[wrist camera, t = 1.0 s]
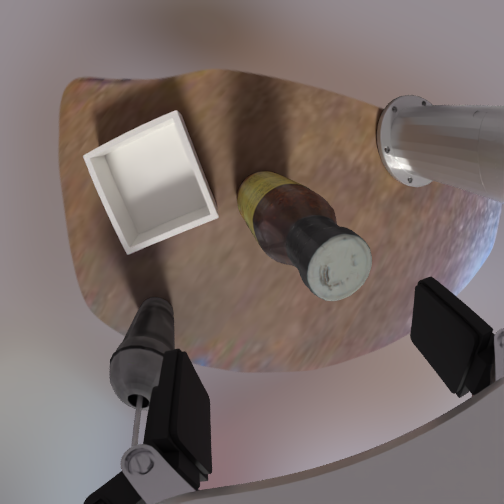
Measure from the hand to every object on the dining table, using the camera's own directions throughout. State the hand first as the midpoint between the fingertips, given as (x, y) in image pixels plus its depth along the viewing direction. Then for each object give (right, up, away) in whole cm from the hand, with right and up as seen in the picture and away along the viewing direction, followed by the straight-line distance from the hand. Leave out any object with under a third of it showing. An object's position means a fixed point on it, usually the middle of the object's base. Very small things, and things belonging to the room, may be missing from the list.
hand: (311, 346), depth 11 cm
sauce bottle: (-1, +10, +23) cm, 25 cm away
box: (-13, +12, +20) cm, 27 cm away
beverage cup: (-15, -4, +26) cm, 31 cm away
